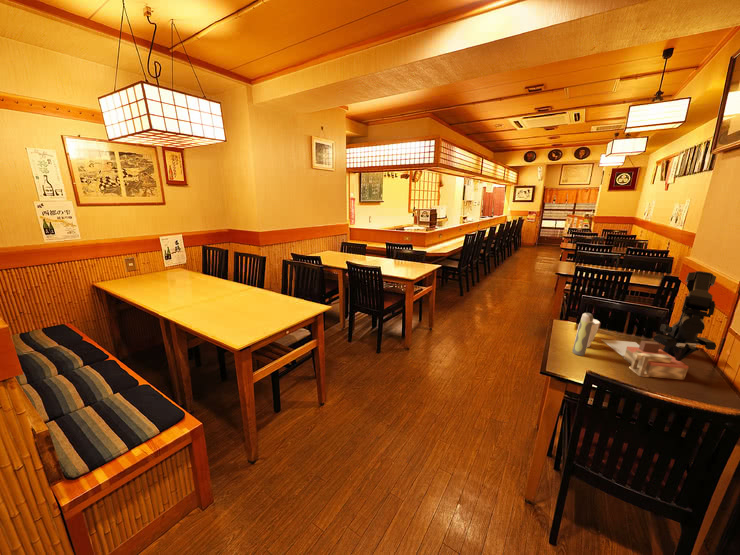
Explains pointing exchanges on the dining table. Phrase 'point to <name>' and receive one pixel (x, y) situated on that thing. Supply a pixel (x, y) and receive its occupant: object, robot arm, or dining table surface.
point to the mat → (620, 345)
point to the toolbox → (653, 368)
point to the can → (590, 334)
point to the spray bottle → (583, 334)
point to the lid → (654, 349)
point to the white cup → (595, 327)
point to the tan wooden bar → (652, 357)
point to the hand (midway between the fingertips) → (677, 360)
